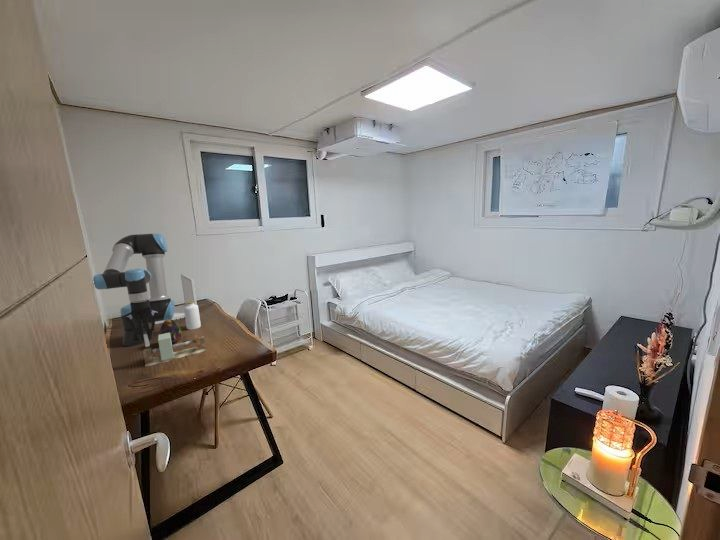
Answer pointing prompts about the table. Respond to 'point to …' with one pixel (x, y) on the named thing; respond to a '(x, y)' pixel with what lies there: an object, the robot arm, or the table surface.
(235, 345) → the table surface
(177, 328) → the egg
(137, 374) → the table surface
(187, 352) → the rail
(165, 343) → the block
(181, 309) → the laptop
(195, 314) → the potion bottle
